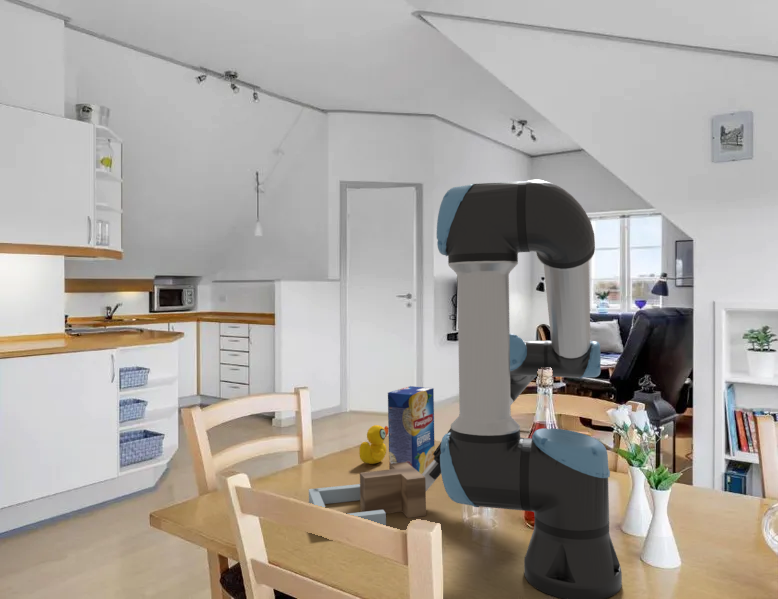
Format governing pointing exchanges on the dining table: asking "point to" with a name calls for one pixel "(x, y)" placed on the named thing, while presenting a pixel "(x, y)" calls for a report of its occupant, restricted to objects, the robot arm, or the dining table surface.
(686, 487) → the dining table surface
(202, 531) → the dining table surface
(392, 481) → the t block
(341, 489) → the fence
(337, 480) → the dining table surface
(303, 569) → the dining table surface
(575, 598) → the robot arm
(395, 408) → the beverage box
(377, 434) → the duckling
